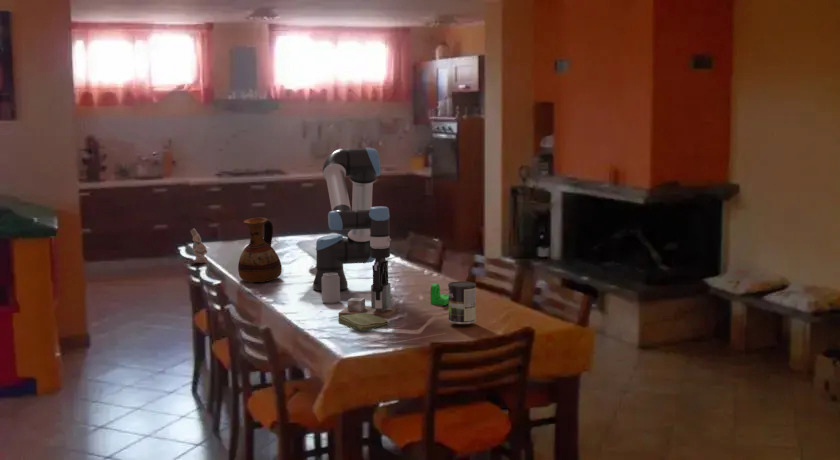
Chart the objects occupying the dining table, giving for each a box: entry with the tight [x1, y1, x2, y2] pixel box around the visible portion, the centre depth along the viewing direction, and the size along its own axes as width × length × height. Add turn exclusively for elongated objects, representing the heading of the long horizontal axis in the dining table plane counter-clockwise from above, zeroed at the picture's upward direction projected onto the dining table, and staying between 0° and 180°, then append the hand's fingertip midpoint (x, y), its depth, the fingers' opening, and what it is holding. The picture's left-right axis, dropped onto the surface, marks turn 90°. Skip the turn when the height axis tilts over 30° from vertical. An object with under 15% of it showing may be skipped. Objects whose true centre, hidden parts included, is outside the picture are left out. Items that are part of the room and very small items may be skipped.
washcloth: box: [337, 313, 389, 331], centre depth 345 cm, size 13×18×3 cm
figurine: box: [190, 228, 208, 264], centre depth 481 cm, size 9×8×20 cm
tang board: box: [338, 297, 400, 320], centre depth 362 cm, size 20×14×6 cm
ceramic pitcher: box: [237, 216, 283, 283], centre depth 436 cm, size 20×20×30 cm
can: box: [321, 273, 341, 305], centre depth 386 cm, size 8×8×12 cm
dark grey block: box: [370, 282, 392, 309], centre depth 361 cm, size 6×6×9 cm
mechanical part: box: [430, 283, 449, 306], centre depth 384 cm, size 12×6×8 cm, turn 158°
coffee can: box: [447, 280, 477, 325], centre depth 347 cm, size 10×10×14 cm
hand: (381, 306), depth 361 cm, fingers closed on dark grey block, 6 cm apart
